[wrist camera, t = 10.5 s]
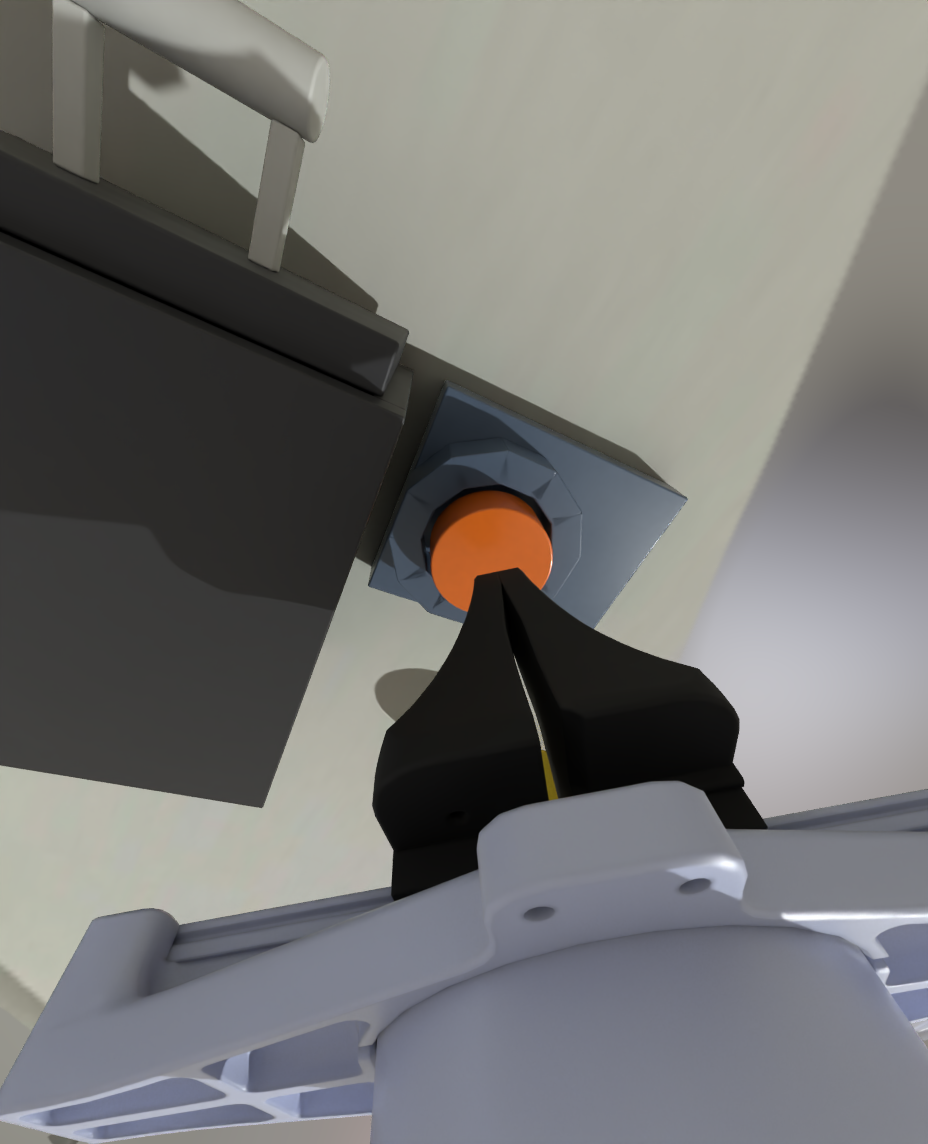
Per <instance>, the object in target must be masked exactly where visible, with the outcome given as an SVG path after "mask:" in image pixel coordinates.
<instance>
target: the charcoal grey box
mask: <svg viewBox="0 0 928 1144" xmlns="http://www.w3.org/2000/svg"><path fill="white" fill-rule="evenodd" d="M413 373H414V371H413V370H412V369H410V368H408V367H406V366H404V365H401V364H398V366H397V368H396V370H395V372H394V374H393V376H392V378H391V380H390V382H389V384H388V386H387V388H386V390H385V392H384V394H383V395H382V396H377V395H375V394H373V393H370V392H368V391H366V390H364V389H361V388H359V387H357V386H355V385H352V384H350V383H348V382H346V381H343V380H341V379H339V378H336V377H334V376H332V375H330V374H327V373H325V372H323V371H321V370H318V369H316V368H314V367H312V366H309V365H307V364H305V363H303V362H300V361H298V360H296V359H294V358H291V357H289V356H287V355H284V354H282V353H280V352H278V351H275V350H273V349H271V348H269V347H266V346H264V345H262V344H260V343H257V342H255V341H253V340H251V339H248V338H246V337H244V336H241V335H239V334H237V333H235V332H232V331H230V330H228V329H226V328H223V327H221V326H219V325H217V324H214V323H212V322H210V321H208V320H205V319H203V318H201V317H198V316H196V315H194V314H192V313H189V312H187V311H185V310H183V309H180V308H178V307H176V306H174V305H171V304H169V303H167V302H165V301H162V300H160V299H158V298H156V297H153V296H151V295H149V294H146V293H144V292H142V291H140V290H137V289H135V288H133V287H131V286H128V285H126V284H124V283H122V282H119V281H117V280H115V279H113V278H110V277H108V276H106V275H103V274H101V273H99V272H97V271H94V270H92V269H90V268H88V267H85V266H83V265H81V264H79V263H76V262H74V261H72V260H70V259H67V258H65V257H63V256H60V255H58V254H56V253H54V252H51V251H49V250H47V249H45V248H42V247H40V246H38V245H36V244H33V243H31V242H29V241H27V240H24V239H22V238H20V237H17V236H15V235H13V234H11V233H8V232H6V231H4V230H2V229H0V765H2V766H8V767H14V768H20V769H26V770H32V771H38V772H44V773H51V774H57V775H63V776H69V777H75V778H81V779H87V780H93V781H100V782H106V783H112V784H118V785H124V786H130V787H136V788H142V789H149V790H155V791H161V792H167V793H173V794H179V795H185V796H191V797H197V798H204V799H210V800H216V801H222V802H228V803H234V804H240V805H246V806H253V807H259V808H262V807H263V806H264V803H265V800H266V798H267V795H268V792H269V789H270V787H271V784H272V781H273V779H274V776H275V773H276V770H277V768H278V765H279V762H280V760H281V757H282V754H283V751H284V749H285V746H286V743H287V740H288V738H289V735H290V732H291V730H292V727H293V724H294V721H295V719H296V716H297V713H298V710H299V708H300V705H301V702H302V700H303V697H304V694H305V691H306V689H307V686H308V683H309V681H310V678H311V675H312V672H313V670H314V667H315V664H316V661H317V659H318V656H319V653H320V651H321V648H322V645H323V642H324V640H325V637H326V634H327V632H328V629H329V626H330V623H331V621H332V618H333V615H334V612H335V610H336V607H337V604H338V602H339V599H340V596H341V593H342V591H343V588H344V585H345V583H346V580H347V577H348V574H349V572H350V569H351V566H352V563H353V561H354V558H355V555H356V553H357V550H358V547H359V544H360V542H361V539H362V536H363V534H364V531H365V528H366V525H367V523H368V520H369V517H370V514H371V512H372V509H373V506H374V504H375V501H376V498H377V495H378V493H379V490H380V487H381V484H382V482H383V479H384V476H385V474H386V471H387V468H388V465H389V463H390V460H391V457H392V455H393V452H394V449H395V446H396V444H397V441H398V438H399V435H400V433H401V430H402V427H403V425H404V422H405V418H406V412H407V406H408V401H409V395H410V389H411V384H412V378H413Z"/></svg>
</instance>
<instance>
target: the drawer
mask: <svg viewBox="0 0 928 1144" xmlns="http://www.w3.org/2000/svg"><path fill="white" fill-rule="evenodd" d="M97 19H98V20H100V21H102V22H103V23H105V24H107V25H108V26H110V27H112V28H114V29H115V30H117V31H119V32H120V33H122V34H124V35H126V36H127V37H129V38H131V39H133V40H134V41H136V42H138V43H139V44H141V45H143V46H145V47H146V48H148V49H150V50H152V51H153V52H155V53H157V54H158V55H160V56H162V57H164V58H165V59H167V60H169V61H170V62H172V63H174V64H176V65H177V66H179V67H181V68H183V69H184V70H186V71H188V72H189V73H191V74H193V75H195V76H196V77H198V78H200V79H201V80H203V81H205V82H207V83H208V84H210V85H212V86H214V87H215V88H217V89H219V90H220V91H222V92H224V93H226V94H227V95H229V96H231V97H233V98H234V99H236V100H238V101H239V102H241V103H243V104H245V105H246V106H248V107H250V108H251V109H253V110H255V111H257V112H258V113H260V114H262V115H264V116H265V117H267V118H269V119H270V120H271V125H270V131H269V137H268V143H267V148H266V154H265V160H264V166H263V172H262V178H261V183H260V189H259V195H258V201H257V207H256V213H255V219H254V224H253V230H252V236H251V242H250V248H249V251H247V250H245V249H243V248H241V247H239V246H237V245H235V244H233V243H231V242H229V241H227V240H225V239H223V238H221V237H219V236H217V235H215V234H213V233H211V232H209V231H207V230H205V229H203V228H201V227H199V226H197V225H195V224H193V223H191V222H189V221H187V220H185V219H183V218H181V217H179V216H177V215H175V214H173V213H170V212H168V211H166V210H164V209H162V208H160V207H158V206H156V205H154V204H152V203H150V202H148V201H146V200H144V199H142V198H140V197H138V196H136V195H134V194H132V193H130V192H128V191H126V190H124V189H122V188H120V187H118V186H116V185H114V184H112V183H110V182H108V181H106V180H104V179H102V178H100V177H99V175H100V146H101V117H102V88H103V59H104V26H103V25H102V24H101V23H100V22H99V21H98V20H97ZM329 90H330V70H329V63H328V60H327V59H326V57H325V56H324V55H323V54H321V53H320V52H318V51H317V50H315V49H313V48H312V47H310V46H309V45H307V44H306V43H304V42H302V41H301V40H299V39H298V38H296V37H295V36H293V35H292V34H290V33H288V32H287V31H285V30H284V29H282V28H281V27H279V26H277V25H276V24H274V23H273V22H271V21H270V20H268V19H267V18H265V17H263V16H262V15H260V14H259V13H257V12H256V11H254V10H252V9H251V8H249V7H248V6H246V5H245V4H243V3H242V2H240V1H238V0H52V105H53V154H51V153H49V152H47V151H45V150H43V149H41V148H39V147H37V146H35V145H33V144H31V143H29V142H27V141H25V140H23V139H21V138H19V137H17V136H14V135H12V134H10V133H7V132H5V131H3V130H0V229H2V230H4V231H6V232H8V233H11V234H13V235H15V236H17V237H20V238H22V239H24V240H27V241H29V242H31V243H33V244H36V245H38V246H40V247H42V248H45V249H47V250H49V251H51V252H54V253H56V254H58V255H60V256H63V257H65V258H67V259H70V260H72V261H74V262H76V263H79V264H81V265H83V266H85V267H88V268H90V269H92V270H94V271H97V272H99V273H101V274H103V275H106V276H108V277H110V278H113V279H115V280H117V281H119V282H122V283H124V284H126V285H128V286H131V287H133V288H135V289H137V290H140V291H142V292H144V293H146V294H149V295H151V296H153V297H156V298H158V299H160V300H162V301H165V302H167V303H169V304H171V305H174V306H176V307H178V308H180V309H183V310H185V311H187V312H189V313H192V314H194V315H196V316H198V317H201V318H203V319H205V320H208V321H210V322H212V323H214V324H217V325H219V326H221V327H223V328H226V329H228V330H230V331H232V332H235V333H237V334H239V335H241V336H244V337H246V338H248V339H251V340H253V341H255V342H257V343H260V344H262V345H264V346H266V347H269V348H271V349H273V350H275V351H278V352H280V353H282V354H284V355H287V356H289V357H291V358H294V359H296V360H298V361H300V362H303V363H305V364H307V365H309V366H312V367H314V368H316V369H318V370H321V371H323V372H325V373H327V374H330V375H332V376H334V377H336V378H339V379H341V380H343V381H346V382H348V383H350V384H352V385H355V386H357V387H359V388H361V389H364V390H366V391H368V392H370V393H373V394H375V395H377V396H382V395H383V394H384V392H385V390H386V388H387V386H388V384H389V382H390V380H391V378H392V376H393V374H394V372H395V370H396V368H397V366H398V364H399V361H400V358H401V355H402V352H403V349H404V346H405V343H406V340H407V337H408V334H409V331H408V330H407V329H405V328H403V327H401V326H399V325H397V324H395V323H393V322H391V321H389V320H387V319H385V318H383V317H381V316H379V315H377V314H375V313H373V312H371V311H369V310H367V309H365V308H363V307H361V306H359V305H357V304H355V303H353V302H351V301H349V300H347V299H344V298H342V297H340V296H338V295H336V294H334V293H332V292H330V291H328V290H326V289H324V288H322V287H320V286H318V285H316V284H314V283H312V282H310V281H308V280H306V279H304V278H302V277H300V276H298V275H296V274H294V273H292V272H290V271H288V270H286V269H284V268H282V267H280V266H281V261H282V256H283V251H284V246H285V241H286V236H287V231H288V226H289V221H290V216H291V211H292V206H293V201H294V196H295V191H296V186H297V181H298V177H299V172H300V167H301V162H302V157H303V152H304V147H305V142H304V141H303V139H305V140H307V141H308V142H311V143H314V142H315V141H316V140H317V139H318V137H319V135H320V133H321V130H322V127H323V124H324V120H325V116H326V112H327V106H328V100H329ZM302 138H303V139H302Z"/></svg>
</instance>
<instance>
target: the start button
mask: <svg viewBox="0 0 928 1144" xmlns="http://www.w3.org/2000/svg"><path fill="white" fill-rule="evenodd" d="M552 564H553V550H552V545H551V542H550V539H549V537H548V535H547V533H546V531H545V529H544V528H543V526H542V524H541V522H540V520H539V518H538V517H537V515H536V513H535V512H534V511H533V509H532V508H531V507H530V506H529V505H528V504H527V503H526V502H525V501H523V500H522V499H520V498H518V497H516V496H514V495H512V494H509V493H506V492H502V491H495V490H485V491H478V492H473V493H470V494H467V495H465V496H463V497H460V498H459V499H457V500H455V501H454V502H452V503H451V504H450V505H449V506H448V507H446V509H445V510H444V511H443V512H442V513H441V514H440V516H439V517H438V518H437V520H436V522H435V524H434V526H433V529H432V532H431V537H430V568H431V575H432V579H433V581H434V584H435V586H436V588H437V589H438V591H439V592H440V594H441V595H442V596H443V597H444V598H445V599H446V600H447V601H448V602H449V603H451V604H452V605H454V606H455V607H457V608H459V609H461V610H464V611H466V612H468V609H469V606H470V602H471V598H472V594H473V589H474V579H475V578H476V576H477V575H482V574H487V573H492V572H497V571H502V570H507V569H512V568H517V567H518V568H519V569H521V570H522V571H523V572H524V573H525V575H526V576H527V577H528V578H529V579H530V580H531V581H532V582H533V583H534V584H535V585H536V586H537V587H538V588H539V589H540V590H541V589H542V588H543V586H544V585H545V583H546V581H547V579H548V577H549V575H550V572H551V568H552Z"/></svg>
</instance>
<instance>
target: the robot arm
mask: <svg viewBox="0 0 928 1144" xmlns="http://www.w3.org/2000/svg"><path fill="white" fill-rule="evenodd" d="M514 656H515V659H516V662H517V664H518V667H519V670H520V673H521V675H522V678H523V681H524V683H525V686H526V689H527V692H528V694H529V697H530V700H531V703H532V705H533V708H534V711H535V713H536V716H537V720H538V723H539V726H540V729H541V733H542V737H543V741H544V745H545V749H546V753H547V756H548V760H549V764H550V768H551V772H552V776H553V780H554V784H555V788H556V792H557V796H558V799H555V800H550V801H549V797H548V791H547V785H546V778H545V772H544V765H543V759H542V752H541V746H540V741H539V737H538V733H537V729H536V725H535V722H534V718H533V715H532V712H531V709H530V706H529V703H528V700H527V697H526V694H525V691H524V688H523V685H522V682H521V679H520V676H519V672H518V669H517V666H516V663H515V659H514ZM738 734H739V718H738V715H737V713H736V711H735V709H734V708H733V706H732V705H731V704H730V703H729V701H728V700H727V699H726V698H725V696H724V695H723V694H722V693H721V691H719V689H718V688H717V687H716V686H715V685H714V684H713V683H712V682H711V681H710V680H709V679H708V678H707V677H706V676H705V675H704V674H703V673H702V672H701V671H700V669H698V668H694V667H691V666H687V665H683V664H680V663H676V662H673V661H669V660H666V659H662V658H659V657H656V656H653V655H651V654H648V653H645V652H642V651H640V650H637V649H634V648H632V647H630V646H627V645H625V644H622V643H620V642H618V641H616V640H614V639H612V638H610V637H608V636H605V635H603V634H602V633H600V632H598V631H596V630H594V629H592V628H591V627H589V626H587V625H586V624H584V623H583V622H581V621H579V620H578V619H577V618H575V617H574V616H572V615H571V614H569V613H568V612H567V611H565V610H564V609H563V608H561V607H560V606H559V605H558V604H556V603H555V602H554V601H553V600H552V599H550V598H549V597H548V596H547V595H546V594H545V593H543V592H542V591H541V590H540V589H539V588H538V587H537V586H536V585H535V584H534V583H533V582H532V581H531V580H530V579H529V578H528V577H527V576H526V575H525V573H524V572H523V571H522V570H521V569H519V568H518V567H517V568H512V569H507V570H502V571H497V572H492V573H487V574H482V575H477V576H476V578H475V579H474V589H473V594H472V598H471V602H470V606H469V609H468V612H467V615H466V618H465V621H464V623H463V626H462V628H461V631H460V633H459V636H458V638H457V640H456V642H455V644H454V646H453V648H452V650H451V652H450V654H449V655H448V657H447V659H446V661H445V662H444V664H443V665H442V667H441V669H440V670H439V672H438V673H437V675H436V676H435V678H434V679H433V681H432V682H431V683H430V685H429V686H428V687H427V688H426V690H425V691H424V692H423V693H422V694H421V696H420V697H419V698H418V699H417V701H416V702H415V703H414V704H413V705H412V706H411V708H410V709H408V710H407V711H406V712H405V713H404V714H403V715H402V716H401V717H400V718H399V719H398V720H397V721H396V722H395V723H394V724H393V725H392V726H391V727H390V728H389V729H388V730H387V731H386V734H385V737H384V740H383V744H382V747H381V751H380V755H379V759H378V763H377V767H376V773H375V782H374V792H373V803H372V807H373V810H374V813H375V817H376V818H377V820H378V822H379V824H380V826H381V828H382V830H383V831H384V833H385V835H386V837H387V839H388V841H389V843H390V845H391V846H392V848H393V850H394V851H393V869H392V886H391V887H386V888H380V889H375V890H369V891H364V892H358V893H353V894H347V895H342V896H336V897H331V898H325V899H320V900H314V901H309V902H303V903H298V904H292V905H287V906H281V907H276V908H270V909H265V910H259V911H254V912H248V913H243V914H237V915H232V916H226V917H221V918H215V919H210V920H204V921H199V922H193V923H188V924H182V925H179V924H178V922H177V921H176V920H175V918H174V917H173V916H172V915H170V914H169V913H167V912H165V911H163V910H160V909H154V908H149V909H140V910H134V911H129V912H124V913H118V914H113V915H107V916H102V917H98V918H96V919H94V920H92V922H91V924H90V925H89V927H88V929H87V931H86V933H85V935H84V936H83V938H82V940H81V942H80V944H79V946H78V947H77V949H76V951H75V953H74V955H73V957H72V958H71V960H70V962H69V964H68V966H67V968H66V969H65V971H64V973H63V975H62V977H61V979H60V980H59V982H58V984H57V986H56V988H55V989H54V991H53V993H52V995H51V997H50V999H49V1000H48V1002H47V1004H46V1006H45V1008H44V1010H43V1011H42V1013H41V1015H40V1017H39V1019H38V1021H37V1022H36V1024H35V1026H34V1028H33V1030H32V1032H31V1034H30V1035H29V1037H28V1039H27V1041H26V1043H25V1044H24V1046H23V1048H22V1050H21V1052H20V1054H19V1055H18V1057H17V1059H16V1061H15V1063H14V1065H13V1066H12V1068H11V1070H10V1072H9V1074H8V1076H7V1077H6V1079H5V1081H4V1083H3V1085H2V1086H1V1088H0V1121H3V1122H7V1123H11V1124H15V1125H19V1126H23V1127H26V1128H30V1129H34V1130H38V1131H42V1132H47V1133H50V1134H54V1135H58V1136H62V1137H66V1138H70V1139H74V1140H78V1141H82V1142H86V1143H90V1144H97V1143H104V1142H110V1141H116V1140H123V1139H130V1138H137V1137H143V1136H151V1135H159V1134H167V1133H175V1132H183V1131H192V1130H202V1129H212V1128H223V1127H233V1126H245V1125H257V1124H269V1123H281V1122H293V1121H304V1120H317V1119H328V1118H341V1117H353V1116H365V1115H372V1122H371V1137H370V1144H928V1048H927V1047H926V1045H925V1044H924V1043H923V1041H922V1040H921V1038H920V1037H919V1035H918V1034H917V1032H916V1031H915V1029H914V1028H913V1026H912V1025H911V1023H915V1022H919V1021H923V1020H927V1019H928V789H924V790H919V791H914V792H908V793H902V794H897V795H891V796H886V797H880V798H875V799H869V800H864V801H859V802H854V803H847V804H842V805H837V806H831V807H825V808H820V809H814V810H809V811H803V812H798V813H792V814H787V815H782V816H776V817H771V818H765V819H762V817H761V816H760V814H759V813H758V811H757V810H756V808H755V807H754V805H753V804H752V802H751V801H750V799H749V798H748V796H747V795H746V793H745V792H744V790H743V789H742V787H744V779H743V777H742V775H741V774H740V773H739V771H738V770H737V768H736V767H735V765H734V764H733V758H734V753H735V749H736V743H737V739H738Z"/></svg>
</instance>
